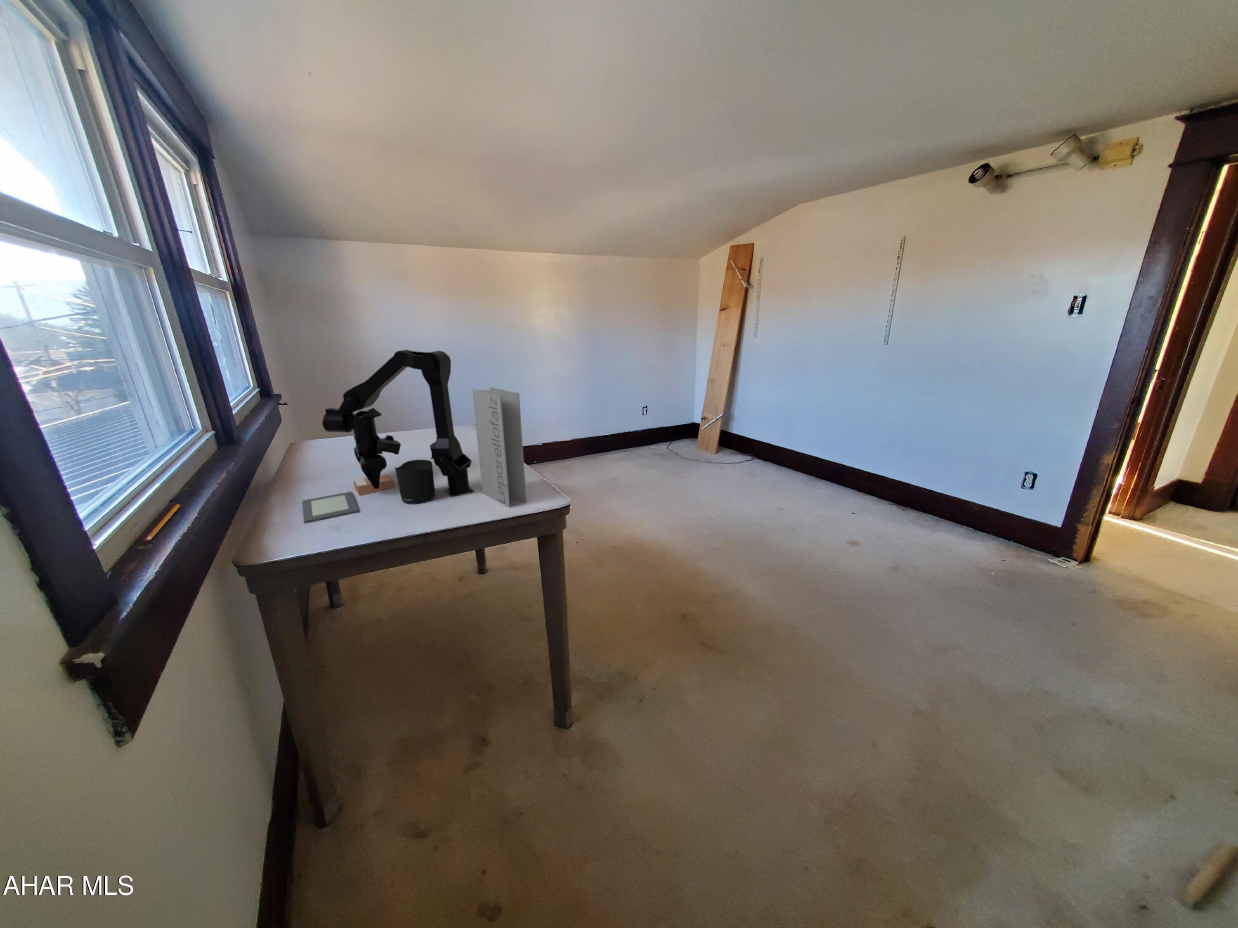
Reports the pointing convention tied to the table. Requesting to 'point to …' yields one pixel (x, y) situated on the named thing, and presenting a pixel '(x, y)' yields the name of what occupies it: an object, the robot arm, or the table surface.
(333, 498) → the mat
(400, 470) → the pen holder
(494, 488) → the brochure
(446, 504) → the table surface
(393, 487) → the block
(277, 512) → the table surface
